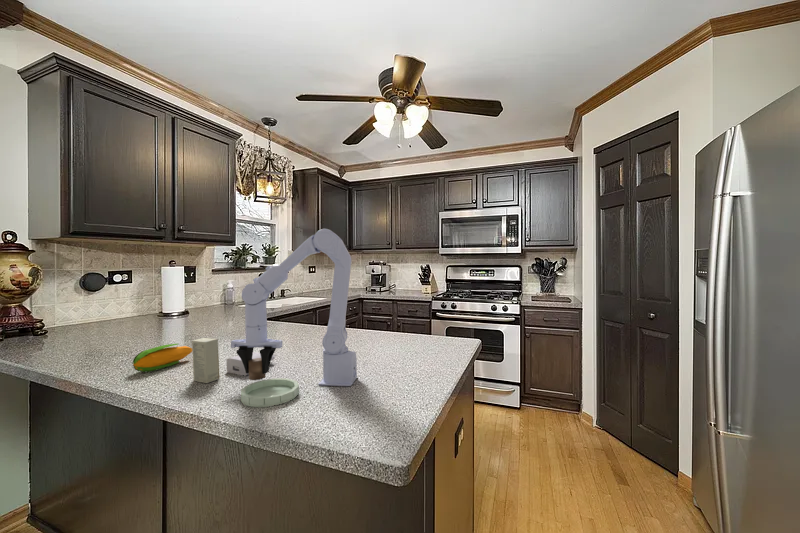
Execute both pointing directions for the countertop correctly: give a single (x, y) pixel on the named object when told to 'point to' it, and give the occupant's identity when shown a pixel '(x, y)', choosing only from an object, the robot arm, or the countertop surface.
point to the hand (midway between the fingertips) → (257, 372)
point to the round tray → (269, 392)
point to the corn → (160, 357)
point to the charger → (240, 364)
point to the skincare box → (205, 360)
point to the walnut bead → (255, 369)
